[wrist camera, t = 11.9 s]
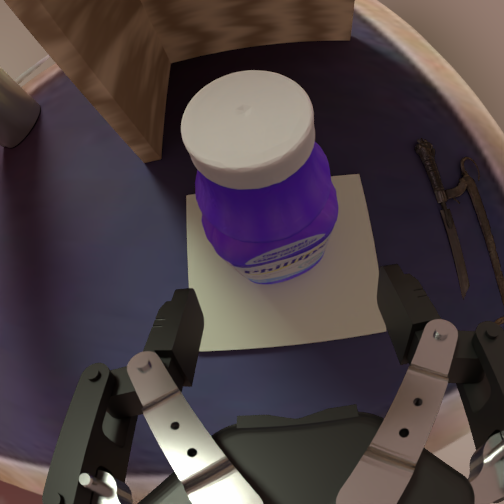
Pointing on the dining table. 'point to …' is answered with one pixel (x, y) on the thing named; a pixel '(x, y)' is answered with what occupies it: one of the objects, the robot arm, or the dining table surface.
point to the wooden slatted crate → (162, 46)
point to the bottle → (260, 175)
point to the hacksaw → (442, 195)
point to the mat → (291, 286)
